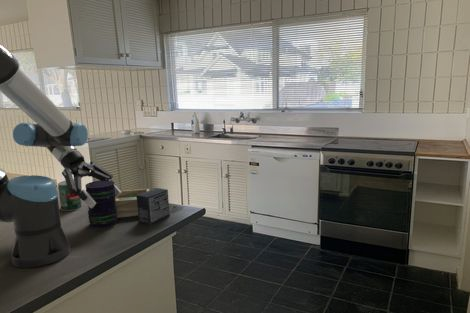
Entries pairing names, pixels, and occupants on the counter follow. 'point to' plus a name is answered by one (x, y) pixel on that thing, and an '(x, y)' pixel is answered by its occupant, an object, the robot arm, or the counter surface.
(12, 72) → the robot arm
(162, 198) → the small box
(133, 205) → the open wooden box
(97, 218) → the blue metal drum
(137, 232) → the counter surface
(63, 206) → the canned tomato
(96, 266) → the counter surface
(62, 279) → the counter surface
